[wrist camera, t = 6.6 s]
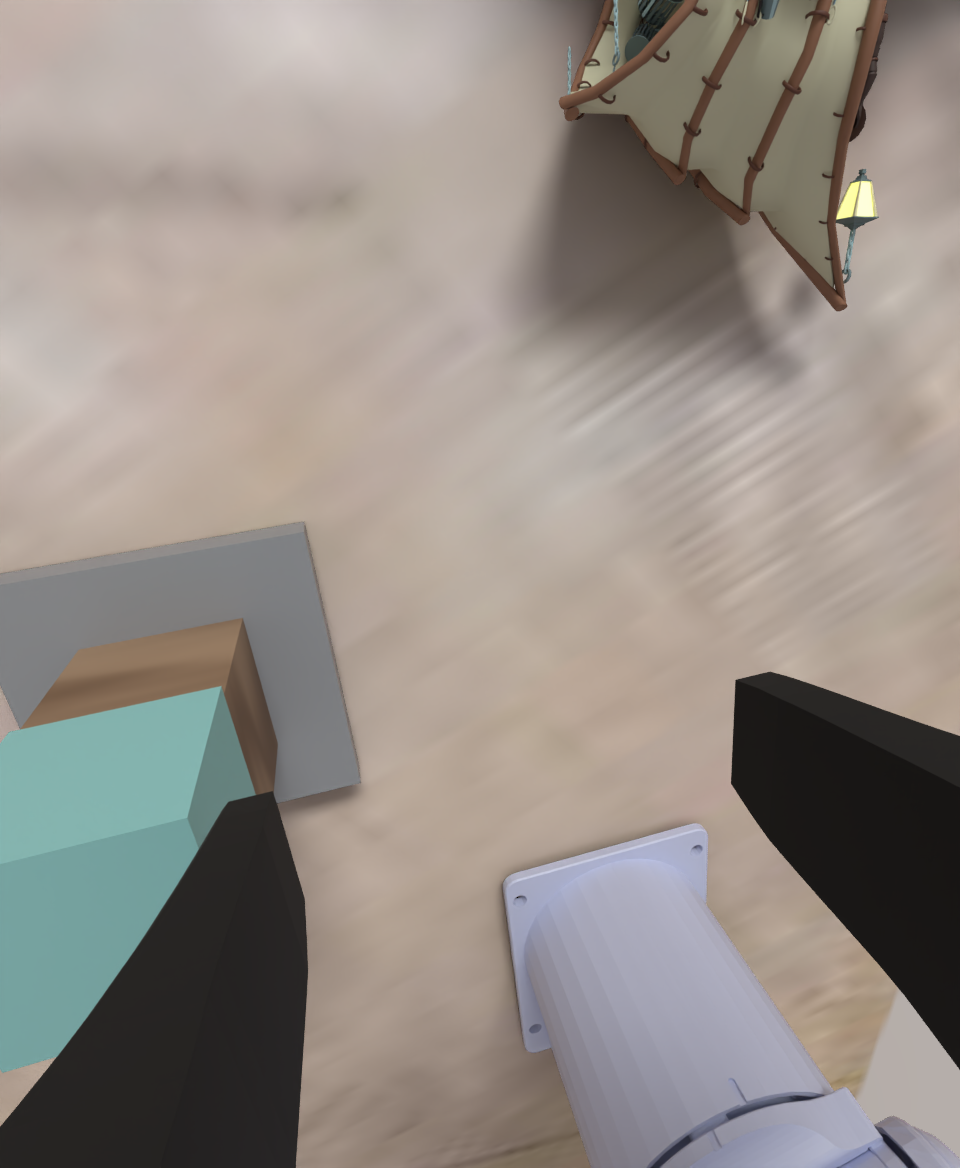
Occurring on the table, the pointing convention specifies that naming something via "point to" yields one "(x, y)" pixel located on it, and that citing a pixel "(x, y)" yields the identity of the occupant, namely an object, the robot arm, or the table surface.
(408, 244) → the table surface
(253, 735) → the walnut block
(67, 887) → the teal block
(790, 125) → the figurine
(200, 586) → the base plate
